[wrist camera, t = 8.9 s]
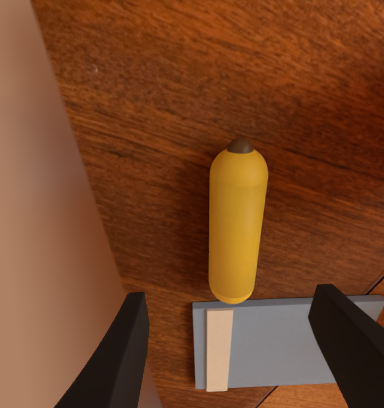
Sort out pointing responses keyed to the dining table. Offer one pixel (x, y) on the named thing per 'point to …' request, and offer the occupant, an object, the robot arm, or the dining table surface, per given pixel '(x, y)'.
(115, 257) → the dining table surface
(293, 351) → the grey flat rectangular block
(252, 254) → the banana
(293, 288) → the dining table surface
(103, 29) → the dining table surface
